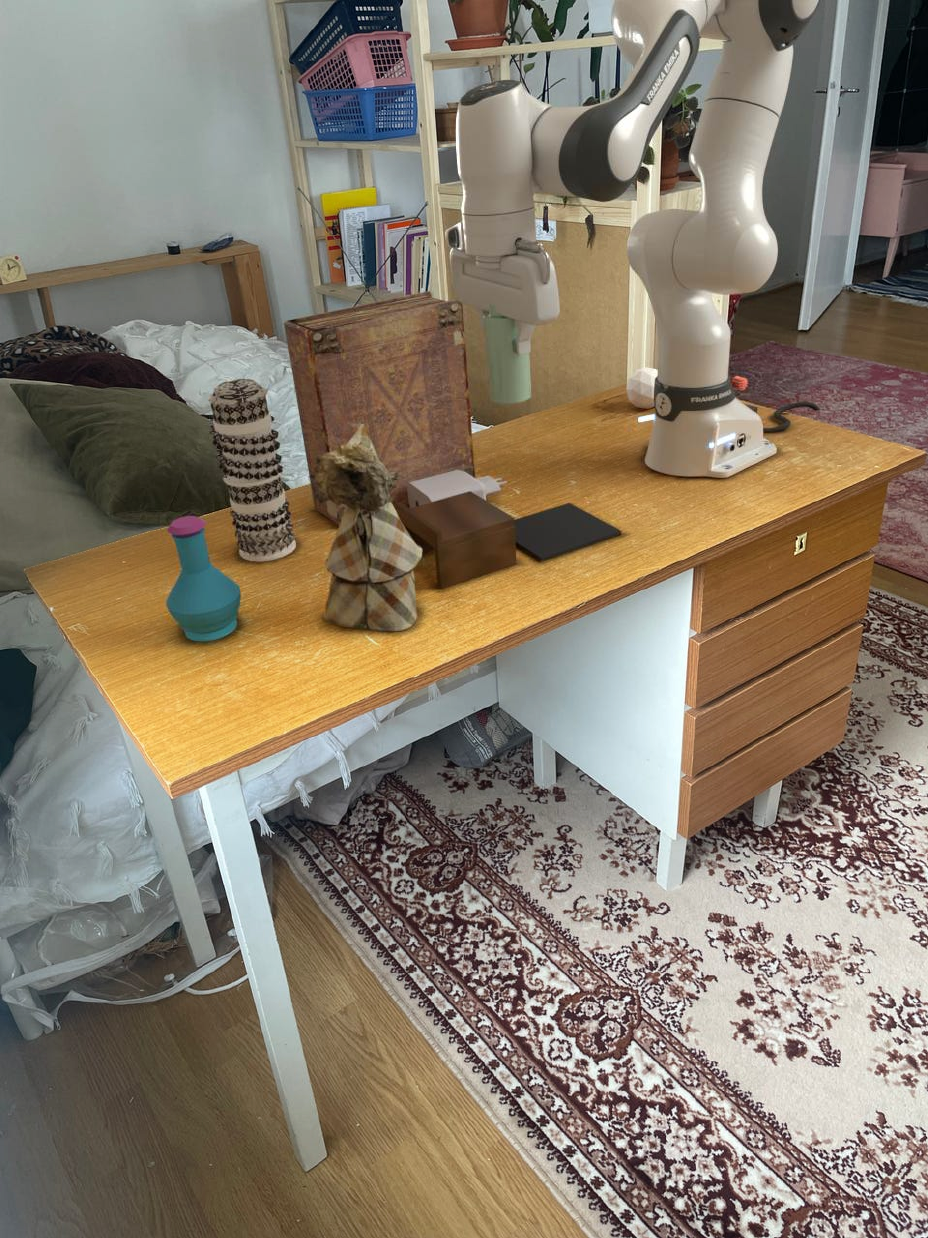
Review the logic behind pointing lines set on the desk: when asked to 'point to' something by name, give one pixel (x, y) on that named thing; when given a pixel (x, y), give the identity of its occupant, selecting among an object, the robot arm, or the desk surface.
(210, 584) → the perfume bottle
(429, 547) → the shelf
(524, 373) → the bottle
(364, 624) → the plush toy
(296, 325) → the book
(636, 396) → the geometric ball
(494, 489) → the charger
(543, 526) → the mat
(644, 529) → the desk surface
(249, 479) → the decorative candle
